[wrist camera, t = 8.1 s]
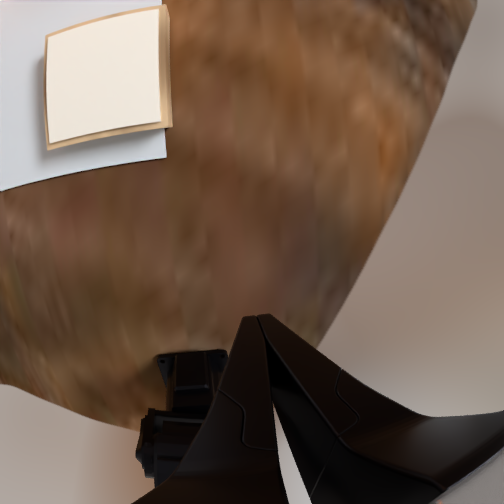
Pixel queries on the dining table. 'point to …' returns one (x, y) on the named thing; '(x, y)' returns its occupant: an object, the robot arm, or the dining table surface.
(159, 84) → the tile
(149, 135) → the mat
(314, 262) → the dining table surface
